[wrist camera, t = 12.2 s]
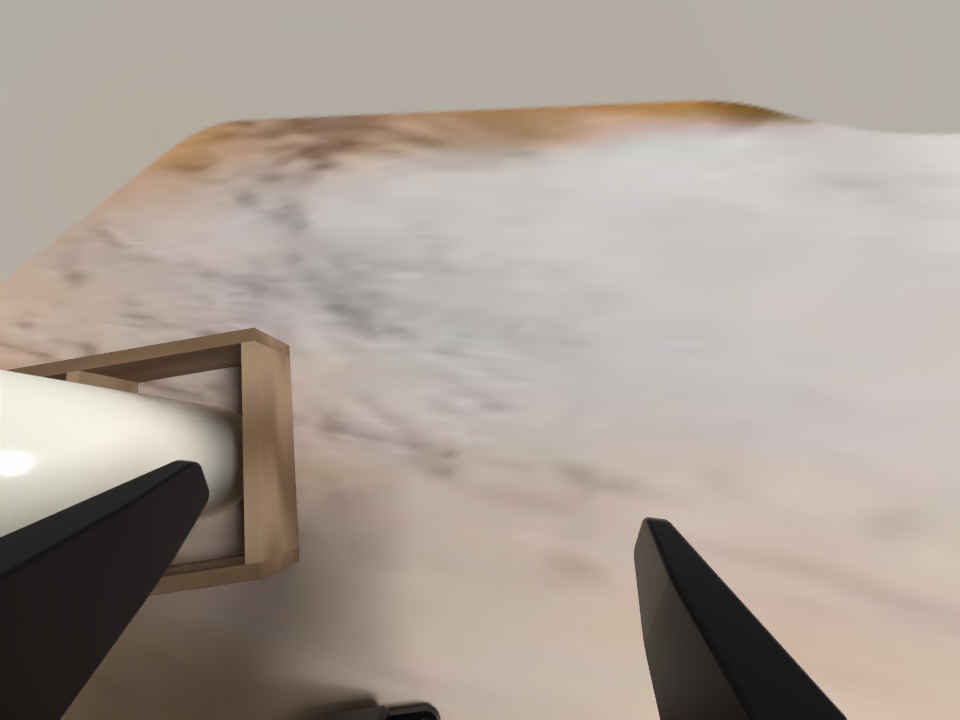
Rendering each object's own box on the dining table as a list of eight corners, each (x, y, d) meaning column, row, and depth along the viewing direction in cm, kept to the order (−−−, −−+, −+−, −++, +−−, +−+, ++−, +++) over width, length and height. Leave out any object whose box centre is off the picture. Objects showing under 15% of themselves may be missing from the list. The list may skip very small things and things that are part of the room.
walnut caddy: (299, 560, 19) (260, 578, 16) (-80, 617, 20) (-183, 645, 17) (289, 345, 21) (253, 327, 19) (-48, 402, 22) (-133, 394, 19)
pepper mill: (282, 452, 20) (-99, 443, 8) (205, 542, 20) (-353, 695, 7) (211, 386, 21) (-229, 282, 9) (135, 470, 21) (-461, 488, 8)
